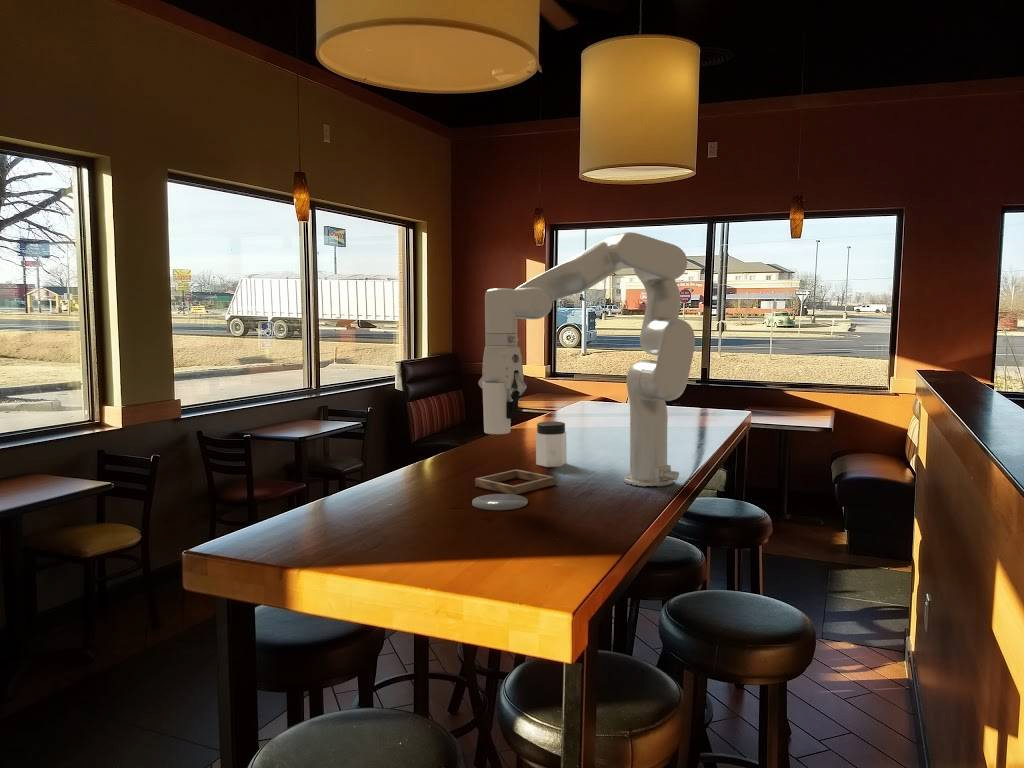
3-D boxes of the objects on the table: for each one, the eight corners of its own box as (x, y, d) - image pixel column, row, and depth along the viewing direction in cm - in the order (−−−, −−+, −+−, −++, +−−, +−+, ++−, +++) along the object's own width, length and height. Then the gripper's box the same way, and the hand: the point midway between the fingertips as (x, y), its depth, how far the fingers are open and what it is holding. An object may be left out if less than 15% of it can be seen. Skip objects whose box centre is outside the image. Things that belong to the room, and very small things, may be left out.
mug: (501, 435, 176) (500, 383, 175) (477, 433, 180) (476, 382, 179) (524, 429, 185) (523, 380, 184) (500, 427, 188) (500, 379, 187)
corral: (554, 484, 197) (554, 476, 197) (513, 495, 186) (513, 487, 186) (516, 476, 207) (516, 469, 207) (475, 486, 196) (474, 478, 196)
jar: (538, 467, 218) (538, 426, 217) (533, 462, 226) (533, 421, 225) (569, 466, 219) (569, 425, 218) (563, 460, 227) (563, 420, 226)
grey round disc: (539, 502, 179) (539, 500, 179) (499, 513, 170) (499, 511, 170) (500, 493, 188) (500, 491, 188) (460, 503, 179) (460, 501, 179)
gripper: (538, 341, 176) (539, 418, 178) (488, 339, 189) (489, 411, 190) (515, 342, 171) (515, 422, 173) (465, 340, 184) (466, 414, 185)
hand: (502, 416), depth 182 cm, fingers closed on mug, 6 cm apart
